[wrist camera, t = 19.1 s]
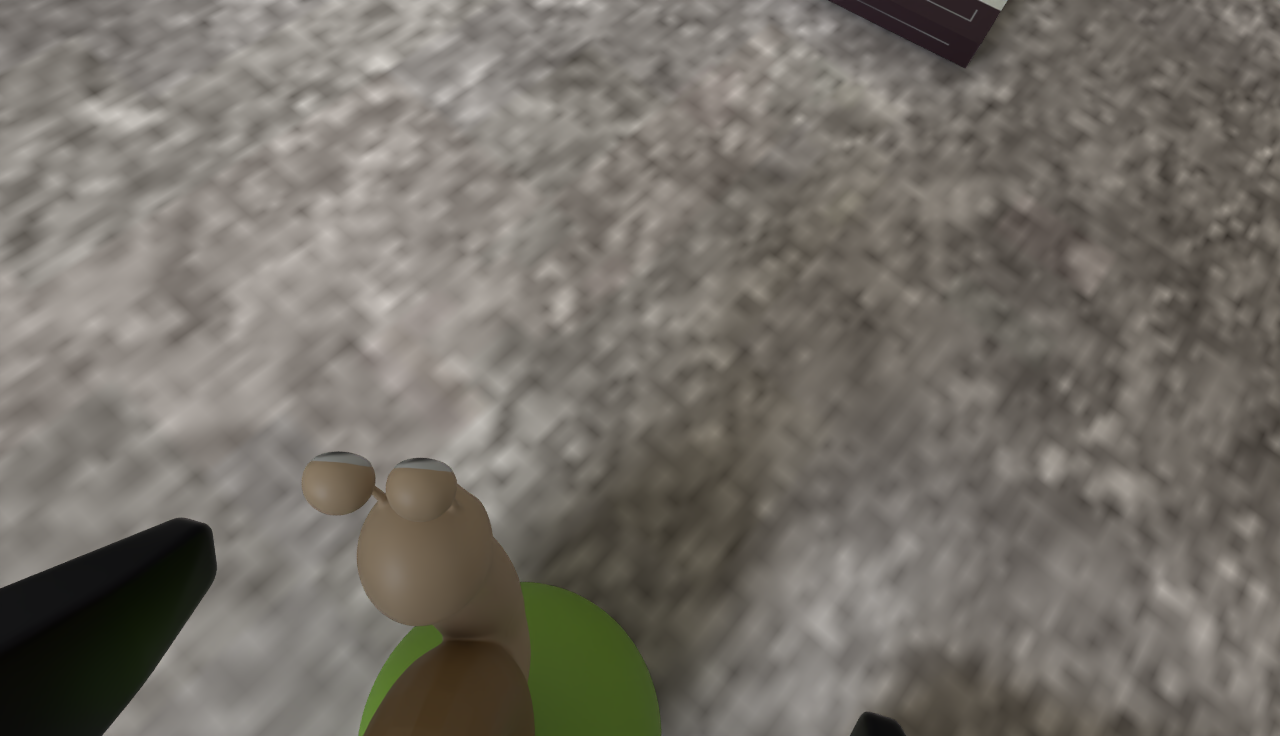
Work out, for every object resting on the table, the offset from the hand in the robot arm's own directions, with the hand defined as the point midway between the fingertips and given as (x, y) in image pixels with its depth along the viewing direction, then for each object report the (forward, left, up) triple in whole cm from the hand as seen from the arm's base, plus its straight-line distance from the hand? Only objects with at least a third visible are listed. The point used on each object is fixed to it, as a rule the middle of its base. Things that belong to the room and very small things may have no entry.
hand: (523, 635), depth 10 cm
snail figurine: (-2, 0, -7) cm, 8 cm away
